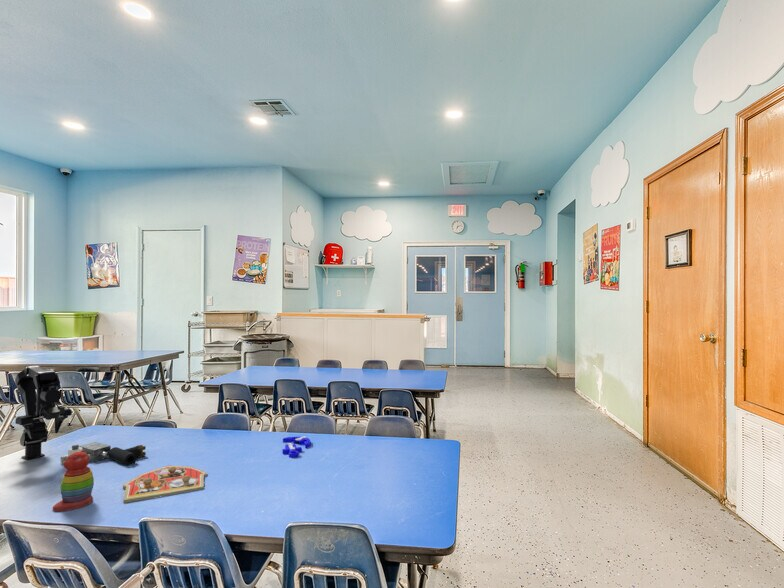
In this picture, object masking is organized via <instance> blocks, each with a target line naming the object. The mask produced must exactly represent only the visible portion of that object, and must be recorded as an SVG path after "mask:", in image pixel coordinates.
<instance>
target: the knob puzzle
mask: <svg viewBox="0 0 784 588" xmlns="http://www.w3.org/2000/svg"><path fill="white" fill-rule="evenodd" d="M207 476H208V473H207V471H205V470H202V469H200V468H197V467H194V466H184V465H182V466H181V465H169V464H168V465H166V466H165V465H164V466H163V467H159V468H156V469H152V470H149V471H147V472H144V473H142V474H139V475H137V476H135V477H133V478H131V479H130V480H128V481H127V482H125V483H124V484H123V485H122V489H123V490H124V496H123V499H122V500H123V501H122V504H127V503H135V502H139V501H144V500H150V499H155V498H156V497H157V498H161V497H160V496H162V497H167V495H168V496H173V495H172V494H174V495H179V494H185V493H189V492H196V491H200V490H204V487H205V484H204V478H205V477H207ZM184 492H185V493H184Z"/></svg>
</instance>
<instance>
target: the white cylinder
mask: <svg viewBox="0 0 784 588" xmlns="http://www.w3.org/2000/svg"><path fill="white" fill-rule="evenodd" d="M79 446H80V445H79V444H74V445H72V446H71V448H69V449H68V450H67V455H68V457H69V456H70V455H71V454H73V453H75V452H81V450H82V447H79Z"/></svg>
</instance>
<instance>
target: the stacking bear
mask: <svg viewBox="0 0 784 588" xmlns="http://www.w3.org/2000/svg"><path fill="white" fill-rule="evenodd" d="M89 463H90V462H89V455H88V454H87V453H85V451H84V450H81V452H75V453H73V454H71V455H70V456H69V457H68V458H67V459H66V460H65V461H64V462H63V464H62V465H63V467H64V468H65V470H66V471H64V473H63V477H62V480H61V482H60V494H61V501H60V500H59V501H58V502H56V503H55V504H54V505H53V506H52V511H54V512H64V511H71V510H75V509H80V508H83V507H85V506H87V505H89V504H91V503H92V502H93V501H94V499H93V495H92V493H93V489H94V484H95V481H94V478H95V477H94V476H93V475H94V473H93V471H92V469H91V468H90V467H89V466H88V465H89Z"/></svg>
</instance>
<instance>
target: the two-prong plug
mask: <svg viewBox="0 0 784 588" xmlns="http://www.w3.org/2000/svg"><path fill="white" fill-rule="evenodd" d="M79 447H82V450H84V451H85V453H87V454H88V455H89V463H90V462H93V463H94V462H98V461H101V460H105V459H107V458H109V456H108V454H109V451H110V450H111V449H112V448H111V444H109V445H108V444H105V443H103V442H98V441H94V442H91V443H87V444H82V445H79ZM67 458H68V454H65V455H62V456H60V464H61V465H63V462H64V461H65V460H66V459H67Z"/></svg>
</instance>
